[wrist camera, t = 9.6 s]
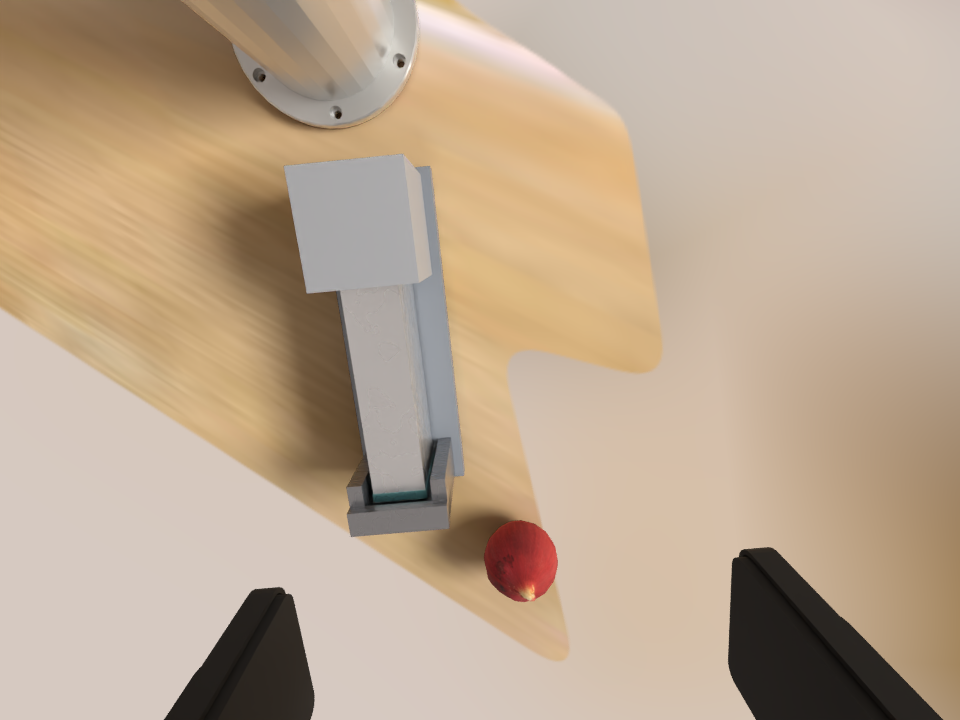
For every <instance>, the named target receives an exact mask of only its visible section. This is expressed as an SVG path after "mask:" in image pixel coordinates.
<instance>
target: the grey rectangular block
mask: <svg viewBox="0 0 960 720" xmlns="http://www.w3.org/2000/svg"><path fill="white" fill-rule="evenodd" d="M340 294H341V300H342V306H343V312H344V318H345V324H346V330H347V336H348V343H349V349H350V355H351V361H352V367H353V373H354V379H355V385H356V391H357V397H358V404H359V410H360V416H361V422H362V428H363V434H364V440H365V446H366V452H367V459H368V465H369V471H370V477H371V483H372V489H373V501H374V503H379V502H390V501H402V500H414V499H426V498H427V497H428V492H429V487H430V478H431V473H432V468H433V463H434V458H435V452H434V450H433V442H432V434H431V426H430V418H429V410H428V403H427V395H426V387H425V379H424V371H423V363H422V355H421V347H420V339H419V331H418V324H417V316H416V308H415V300H414V292H413V284H403V285H392V286H382V287H371V288H360V289H350V290H340Z"/></svg>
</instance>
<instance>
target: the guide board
mask: <svg viewBox="0 0 960 720" xmlns="http://www.w3.org/2000/svg"><path fill="white" fill-rule="evenodd" d="M284 170H285V175H286V181H287V186H288V192H289V198H290V203H291V209H292V214H293V220H294V225H295V231H296V236H297V242H298V247H299V253H300V258H301V264H302V269H303V275H304V280H305V286H306V292H307V294H308V293H318V292H329V291H336V293H337V299H338V305H339V311H340V317H341V323H342V329H343V336H344V342H345V348H346V354H347V360H348V366H349V372H350V378H351V384H352V390H353V396H354V402H355V408H356V414H357V420H358V426H359V432H360V438H361V444H362V450H363V456H364V454H365V453H366V446H365V440H364V434H363V428H362V422H361V416H360V410H359V404H358V397H357V391H356V385H355V379H354V373H353V367H352V361H351V355H350V349H349V343H348V336H347V330H346V324H345V318H344V312H343V306H342V300H341V294H340V290H350V289H360V288H371V287H382V286H392V285H403V284H413V292H414V300H415V308H416V316H417V324H418V331H419V339H420V347H421V355H422V363H423V371H424V379H425V387H426V395H427V403H428V410H429V418H430V426H431V434H432V442H433V450H434V452H435V454H436V449H437V444H438V439H439V438H446V437H451V441H452V449H453V458H454V467H455V475H454V476H464V460H463V451H462V442H461V433H460V424H459V415H458V406H457V397H456V388H455V379H454V370H453V360H452V351H451V342H450V333H449V324H448V315H447V306H446V297H445V288H444V279H443V270H442V261H441V252H440V243H439V234H438V225H437V216H436V207H435V198H434V189H433V180H432V171H431V168H430V166H425V167H414V166H413V165H412V164H411V163H410V161H409V160H408V159H407V158H406V157H405V155H404V154H397V155H387V156H377V157H367V158H357V159H347V160H337V161H327V162H318V163H308V164H298V165H288V166H284Z"/></svg>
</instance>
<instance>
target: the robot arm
mask: <svg viewBox="0 0 960 720" xmlns="http://www.w3.org/2000/svg"><path fill="white" fill-rule="evenodd" d="M181 1H182V2H183V3H184V4H186V5H187V6H188V7H189V8H191V9H192V10H193V11H194V12H195V13H197V14H198V15H199V16H200V17H202V18H203V19H204V20H205V21H206V22H208V23H209V24H210V25H211V26H213V27H214V28H215V29H216V30H218V31H219V32H220V33H221V34H222V35H224V36H225V37H226V38H227V39H229V40H230V41H231V43H232V46H233V50H234V53H235V55H236V57H237V59H238V62H239V64H240V66H241V68H242V70H243V72H244V73H245V75H246V76H247V78H248V79H249V81H250V82H251V84H252V85H253V87H254V88H255V89H256V90H257V91H258V92H259V93H260V94H261V95H262V96H263V97H264V98H265V99H266V100H267V101H268V102H269V103H270V104H272V105H273V106H274V107H276V108H277V109H278V110H280V111H281V112H283V113H284V114H286V115H288V116H289V117H291V118H293V119H295V120H297V121H299V122H302V123H305V124H308V125H310V126H314V127H321V128H327V129H334V128H347V127H351V126H355V125H359V124H362V123H364V122H366V121H368V120H370V119H372V118H374V117H376V116H377V115H379V114H380V113H381V112H382V111H384V110H385V109H386V108H387V107H389V106H390V105H391V104H392V102H393V101H394V100H395V99H396V98H397V96H398V95H399V94H400V93H401V92H402V90H403V88H404V86H405V84H406V83H407V81H408V79H409V77H410V75H411V72H412V69H413V66H414V63H415V60H416V56H417V49H418V42H419V17H418V12H417V7H416V1H415V0H181ZM399 62H404V63H405V64H404V67H402V68H399V67H398V64H399ZM264 76H266V79H265V80H264V81H263V82H262V78H263V77H264ZM339 112H340V113H342V116H341V118H340V119H337V118H336V115H337V113H339ZM728 664H729V669H730V673H731V676H732V678H733V681H734V683H735V684H736V686H737V688H738V690H739V691H740V693H741V695H742V697H743V698H744V700H745V701H746V703H747V705H748V707H749V708H750V710H751V712H752V714H753V715H754V717H755V719H756V720H943V719H942V718H941V717H940V716H939V715H938V714H937V713H936V712H935V711H934V710H933V709H932V708H931V707H930V706H929V705H928V704H927V703H926V702H925V701H924V700H923V699H922V698H921V697H920V696H919V694H917V693H916V691H915V690H914V689H913V688H912V687H911V686H910V685H909V684H908V683H907V682H906V681H905V680H904V679H903V678H902V677H901V676H900V675H899V674H898V673H897V672H896V671H895V670H894V669H893V668H892V667H891V666H890V665H889V664H888V663H887V662H886V661H885V660H884V659H883V658H882V657H881V656H880V655H879V654H878V652H877V651H876V650H875V649H874V648H873V647H871V645H870V644H869V643H868V642H867V641H866V640H865V639H864V638H863V637H862V636H861V635H860V634H859V633H858V632H857V631H856V630H855V629H854V628H853V627H852V626H851V625H850V624H849V623H848V622H847V621H845V620H844V619H843V618H842V617H840V616H839V615H838V614H837V613H836V612H835V611H834V610H833V609H832V608H831V607H830V606H829V605H828V604H827V603H826V601H825V600H824V599H822V597H821V596H820V595H819V594H818V593H816V591H815V590H814V589H813V588H812V587H811V586H810V585H809V584H808V583H807V582H806V581H805V580H804V579H803V578H802V577H801V576H800V575H799V574H798V573H797V572H796V571H795V570H794V568H792V566H791V565H790V564H789V563H788V562H787V561H786V560H785V559H784V558H783V557H782V556H781V555H780V554H779V553H778V552H777V551H776V550H774V549H773V548H769V547H767V548H754V549H744V550H741V552H740V554H739V557H737V558H734V559H733V561H732V578H731V602H730V628H729V652H728ZM313 708H314V690H313V686H312V681H311V676H310V672H309V667H308V663H307V658H306V654H305V649H304V645H303V640H302V636H301V631H300V627H299V623H298V618H297V613H296V609H295V604H294V600H293V597H292V595H291V594H286V593H285V591H284V590H283V588H280V587H277V588H264V589H255V590H253V591H251V593H250V594H249V595H248V597H247V598H246V600H245V601H244V603H243V604H242V606H241V607H240V609H239V610H238V612H237V613H236V615H235V616H234V618H233V619H232V621H231V623H230V624H229V625H228V627H227V628H226V630H225V632H224V633H223V635H222V636H221V638H220V639H219V641H218V642H217V644H216V645H215V647H214V648H213V650H212V651H211V653H210V654H209V656H208V657H207V659H206V660H205V662H204V663H203V665H202V666H201V667H200V668H199V670H198V671H197V672H196V673H195V674H194V675H193V677H192V678H191V680H190V682H189V683H188V684H187V686H186V687H185V689H184V691H183V692H182V694H181V695H180V696H179V698H178V700H177V701H176V703H175V704H174V706H173V707H172V709H171V710H170V712H169V713H168V715H167V716H166V718H165V719H164V720H310V719H311V716H312V713H313Z"/></svg>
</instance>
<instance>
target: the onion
mask: <svg viewBox="0 0 960 720" xmlns="http://www.w3.org/2000/svg"><path fill="white" fill-rule="evenodd" d="M484 561H485V566H486V570H487V575H488V579H489V580H490V582H491V584H492V585H493V586H494V587H495V588H496V589H497V590H498V591H499V592H501V593H502V594H504V595H505V596H507V597H509V598H511V599H513V600H514V601H520V602H526V601H534V600H535V599H536V598H538V597H540V596H541V595H543V594H545V593H546V591H547V590H548V588H549V587H550V586H551V584H552V583H553V581H554V578H555V575H556V570H557V565H558V560H557V554H556V549H555V546H554V544H553V542H552V540H551V539H550V537H549V536H548V534H547V533H546V531H544V530H543V529H541V528H540V527H538V526H537V525H535V524H533V523H529V522H525V521H522V520H519V521H510V522H508V523H506V524H504V525H502V526H500V527H499V528H498V529H497V530H496V532H495V533H494V534H493V535H492V536H491V537H490V538H489V540H488V543H487V546H486V549H485V554H484Z"/></svg>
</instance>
